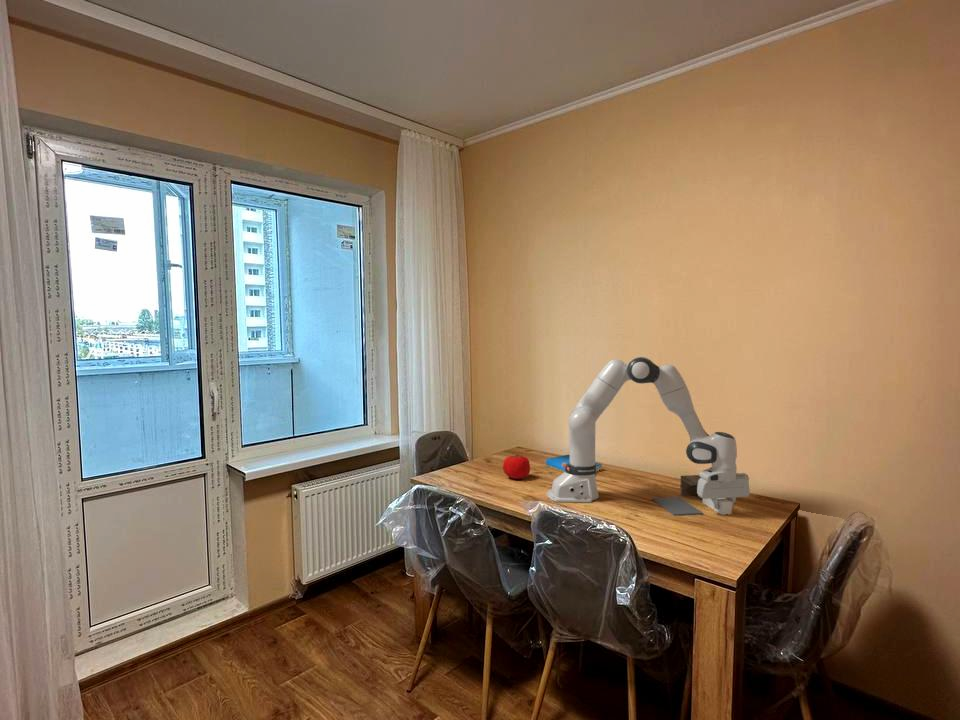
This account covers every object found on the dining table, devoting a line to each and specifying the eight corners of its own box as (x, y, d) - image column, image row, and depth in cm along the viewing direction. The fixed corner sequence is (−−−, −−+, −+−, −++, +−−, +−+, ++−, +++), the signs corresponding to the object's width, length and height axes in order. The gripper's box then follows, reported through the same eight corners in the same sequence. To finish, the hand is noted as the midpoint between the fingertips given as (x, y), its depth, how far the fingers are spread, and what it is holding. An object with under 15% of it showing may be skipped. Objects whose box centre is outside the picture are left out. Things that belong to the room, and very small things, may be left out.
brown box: (691, 501, 209) (691, 481, 209) (680, 494, 218) (680, 475, 218) (716, 500, 210) (717, 480, 210) (705, 493, 219) (705, 474, 219)
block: (721, 514, 194) (722, 502, 194) (702, 502, 208) (702, 490, 208) (731, 514, 194) (731, 501, 194) (711, 502, 208) (711, 490, 208)
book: (568, 454, 278) (602, 463, 257) (568, 462, 278) (602, 471, 257) (545, 458, 269) (578, 468, 248) (545, 466, 269) (578, 476, 248)
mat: (673, 515, 193) (673, 514, 193) (652, 499, 212) (652, 498, 212) (703, 514, 195) (703, 512, 195) (678, 498, 213) (678, 497, 213)
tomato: (531, 481, 239) (530, 457, 239) (503, 481, 239) (503, 458, 239) (529, 474, 251) (528, 451, 251) (502, 474, 252) (502, 452, 251)
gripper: (743, 470, 200) (742, 504, 201) (695, 472, 198) (694, 506, 199) (753, 475, 194) (753, 509, 194) (704, 477, 192) (703, 512, 192)
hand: (723, 508), depth 197 cm, fingers closed on block, 4 cm apart
